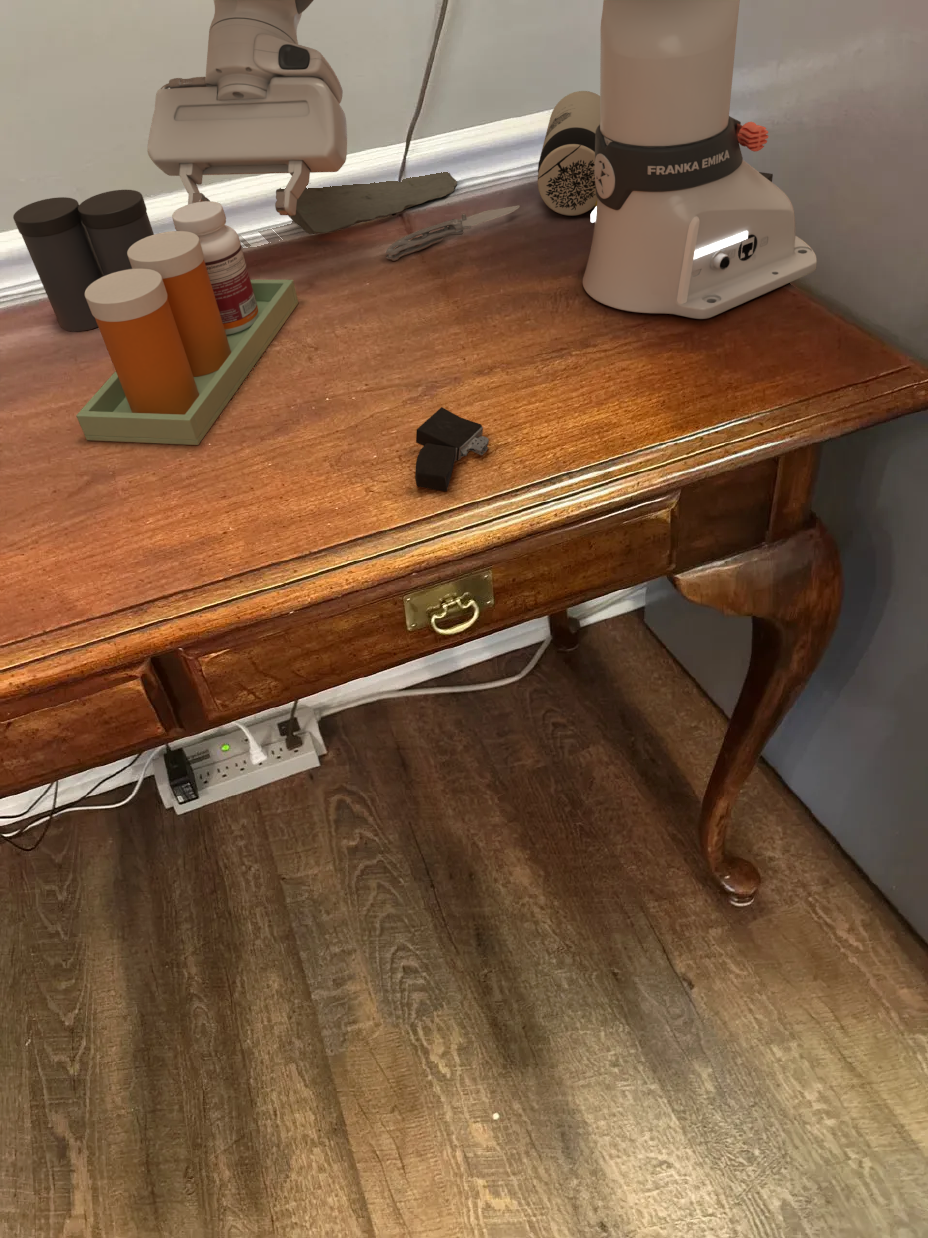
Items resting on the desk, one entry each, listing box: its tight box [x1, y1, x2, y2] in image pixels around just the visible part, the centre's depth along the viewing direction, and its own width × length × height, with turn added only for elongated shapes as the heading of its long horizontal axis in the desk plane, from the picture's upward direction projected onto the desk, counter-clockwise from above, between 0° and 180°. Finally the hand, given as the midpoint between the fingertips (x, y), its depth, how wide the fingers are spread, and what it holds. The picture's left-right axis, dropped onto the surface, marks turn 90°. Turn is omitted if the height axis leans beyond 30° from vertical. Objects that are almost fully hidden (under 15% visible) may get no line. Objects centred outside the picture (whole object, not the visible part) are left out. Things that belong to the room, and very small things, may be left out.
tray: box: [75, 279, 300, 446], centre depth 88 cm, size 26×11×2 cm, turn 168°
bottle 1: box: [127, 230, 231, 377], centre depth 85 cm, size 6×6×11 cm
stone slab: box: [275, 171, 458, 235], centre depth 112 cm, size 22×3×10 cm
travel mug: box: [537, 90, 600, 217], centre depth 109 cm, size 8×8×18 cm
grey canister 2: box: [78, 189, 154, 276], centre depth 95 cm, size 6×6×11 cm
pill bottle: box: [171, 200, 259, 335], centre depth 90 cm, size 6×6×11 cm
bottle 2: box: [85, 269, 199, 415], centre depth 80 cm, size 6×6×11 cm
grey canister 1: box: [12, 196, 104, 332], centre depth 95 cm, size 6×6×11 cm
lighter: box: [414, 406, 490, 493], centre depth 74 cm, size 8×2×5 cm
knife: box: [385, 204, 521, 262], centre depth 105 cm, size 2×18×3 cm
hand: (241, 213), depth 94 cm, fingers open, 8 cm apart
